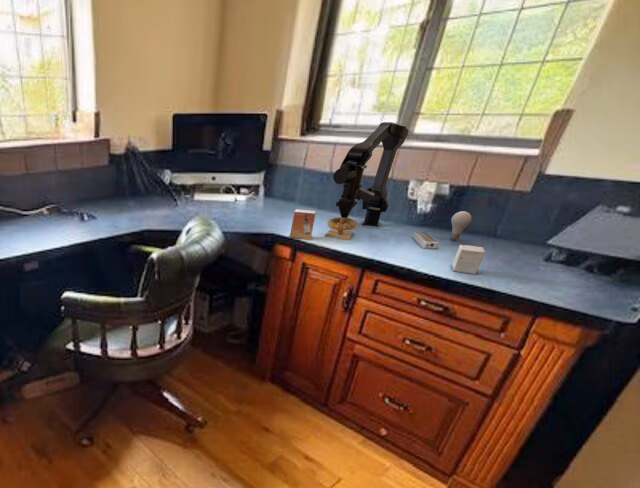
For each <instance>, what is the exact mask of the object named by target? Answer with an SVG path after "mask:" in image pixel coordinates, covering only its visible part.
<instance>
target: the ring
mask: <svg viewBox="0 0 640 488" xmlns="http://www.w3.org/2000/svg"><path fill="white" fill-rule="evenodd" d="M340 218H341V216H337V217H333V218H330V219H329V220H327V222H326V225H327V227H329V228H330V229H335V230H345V231H352V230H354V229H356V227H357V226H358V222H357V221H356V220H355V219H354V218H350V217H348V218H346V220H345V224H339V223H340Z"/></svg>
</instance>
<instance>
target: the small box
mask: <svg viewBox="0 0 640 488" xmlns="http://www.w3.org/2000/svg"><path fill="white" fill-rule="evenodd" d="M316 214H317V210H309V209H308V210H307V209H298V208H296V209H295V210H294V212H293V216H292V222H291V227H290V233H289V238H295V239H303V240H310V239H311V237H312V235H313V230H314V225H315V220H316Z"/></svg>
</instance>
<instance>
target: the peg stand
mask: <svg viewBox="0 0 640 488" xmlns="http://www.w3.org/2000/svg"><path fill="white" fill-rule="evenodd" d="M345 220H346V218H344V217H342V218H340V223H338V224H345ZM354 233H355V232H354V231H352V230H335V229H332V228H330V229H329V230H328V231H327V232H326V233H325V237H326V238H334V239H342V240H350V239H351V238H352V237H353V236H354Z"/></svg>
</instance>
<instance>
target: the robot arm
mask: <svg viewBox="0 0 640 488" xmlns="http://www.w3.org/2000/svg"><path fill="white" fill-rule="evenodd" d="M408 135H409V129H408V128H407V126H406V125H401V124H397V123H396V122H394V121H390V122H389V121H382V122H380V124H378V127H377V128H376V129H375V130H374V131H373V132H372V133H371V134H369V136H368V137H366V139H365V140H364V141H362V142H359V143H356V144H355V145H353V146H352V147H350V148H349V150H348V152H347V153H346V155H345V157H344V158H343V160H342V162H341V164H340V166H339V168H338V169H336V170H335V172H334V173H333V176H332V177H333V181H334V183H336V184H337V185H343V186H342V188H343V190H342V193H341V195H340V198H339V199H337V200H336V202H335V207H338V210H339V214H340V217H341V218H342V217H344V218H349V215H350V213H351V211H352V209H353V208H354V207H356V205H357V204H358V203H359V202H358V201H360V200H362V210H366V212H365V215H364V220H363V221H362V223H361V225H362V226H372V227H379V225H380V224H381V222H380V218H381V214H382V213H386V211H388V208H389V203H388V200H387V197H388V191H387V188H386V187H387V183H388V180H389V177H390V173H391V170H392V166H393V164H394V161H395V157H396V154H397V151H398V149H400V148H401V147H402V146H403V145H404V143H405V141H406V138H407V137H408ZM380 144H382V148H383V149H382V150H383V151H382V152H381V153H382V154H381V156H380V160H379V164H378V166H377V170H376V173H375V177H374V179H373V182H372V186H370V187H368V188H363V187H362V186H363V184H362V179H363V176H364V170H365V169H367V167H368V165H366V164H367V163H368V161H370V159H371V158H372V156H373V151H374V150H375V149H376V148H377V147H378V146H379V145H380ZM356 200H357V201H356Z"/></svg>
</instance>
